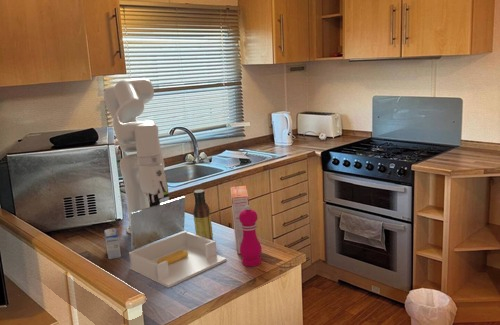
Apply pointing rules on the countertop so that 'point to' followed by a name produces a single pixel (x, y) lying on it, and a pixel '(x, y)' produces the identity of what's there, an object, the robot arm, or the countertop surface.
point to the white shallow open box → (168, 275)
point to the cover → (157, 222)
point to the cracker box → (238, 211)
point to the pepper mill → (249, 238)
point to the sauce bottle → (202, 216)
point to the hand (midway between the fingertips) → (155, 212)
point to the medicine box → (112, 243)
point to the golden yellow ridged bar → (174, 257)
